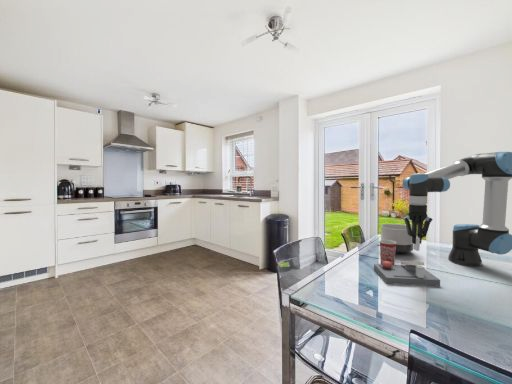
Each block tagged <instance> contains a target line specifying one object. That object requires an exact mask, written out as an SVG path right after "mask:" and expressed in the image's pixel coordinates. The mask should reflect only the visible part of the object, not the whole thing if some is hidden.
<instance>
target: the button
mask: <svg viewBox="0 0 512 384" xmlns="http://www.w3.org/2000/svg"><path fill="white" fill-rule="evenodd" d="M381 264H382V266H383V267H384V268H392V263H391V262H389V261H383V262H382V263H381Z"/></svg>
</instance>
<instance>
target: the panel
mask: <svg viewBox="0 0 512 384" xmlns="http://www.w3.org/2000/svg"><path fill="white" fill-rule="evenodd" d="M416 266H418V265H401V264H394V265H392V268H384V267H383V266H382V263H374V264H373V270H374V271H375V272H376V273H377V274H378V276H380V278H381V279H382V281H384V282H385V284H389V285H390V284H391V285H392V284H393V285H410V286H411V285H414V286H431V287H432V286H433V287H441V279H440V278H438V277H436V275H434V274H433V273H431V272H430V271H428V270H427V269H424V278H418V277H417V276H416Z"/></svg>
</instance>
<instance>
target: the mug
mask: <svg viewBox="0 0 512 384" xmlns="http://www.w3.org/2000/svg"><path fill="white" fill-rule="evenodd" d="M396 244H397V243H396V242H395V241H391V240H381V239H380V240H379V253H380V254H379V255H380V264H382V262H383V261H389V262H391V263H392V265H395V259H396V253H395V252H396Z"/></svg>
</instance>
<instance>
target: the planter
mask: <svg viewBox="0 0 512 384" xmlns="http://www.w3.org/2000/svg"><path fill="white" fill-rule="evenodd" d="M380 227H381V228H380V240H391V241H395V242H396V243H397V244H396V252H395V254H406V253H407V252H412V251H414V244H413V243H412V236H409V235H408V232H407V228H406V224H402V223H401V224H400V223H399V224H398V223H384V224H383V223H382V224H381V226H380ZM411 230H412V226H411Z"/></svg>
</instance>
